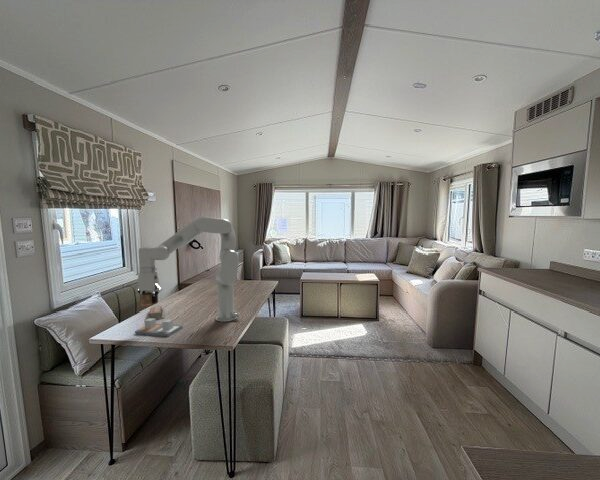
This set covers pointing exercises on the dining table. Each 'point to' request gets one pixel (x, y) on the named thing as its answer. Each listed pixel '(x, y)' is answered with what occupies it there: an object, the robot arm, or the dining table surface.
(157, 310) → the packaged product
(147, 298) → the sleeve
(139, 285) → the robot arm
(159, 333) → the pin board
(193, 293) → the dining table surface
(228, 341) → the dining table surface
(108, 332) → the dining table surface
